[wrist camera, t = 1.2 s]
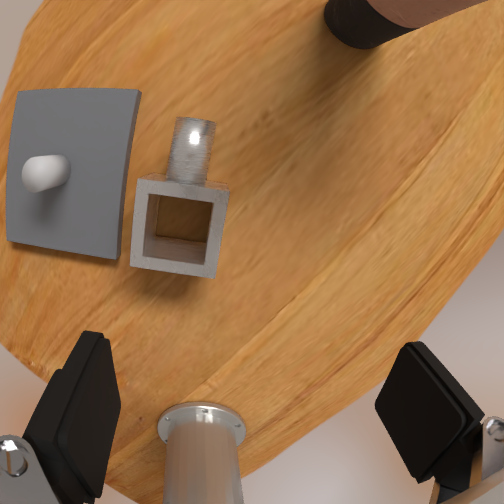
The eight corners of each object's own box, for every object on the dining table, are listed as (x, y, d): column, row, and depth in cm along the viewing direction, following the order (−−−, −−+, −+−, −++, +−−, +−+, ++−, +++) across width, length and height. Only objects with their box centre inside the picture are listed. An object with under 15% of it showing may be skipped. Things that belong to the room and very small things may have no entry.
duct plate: (120, 254, 29) (101, 278, 23) (13, 236, 26) (-17, 253, 21) (141, 92, 24) (124, 79, 18) (25, 92, 22) (-7, 86, 16)
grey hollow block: (214, 254, 30) (214, 278, 24) (144, 243, 29) (129, 266, 23) (236, 131, 26) (242, 125, 21) (162, 120, 25) (148, 112, 20)
